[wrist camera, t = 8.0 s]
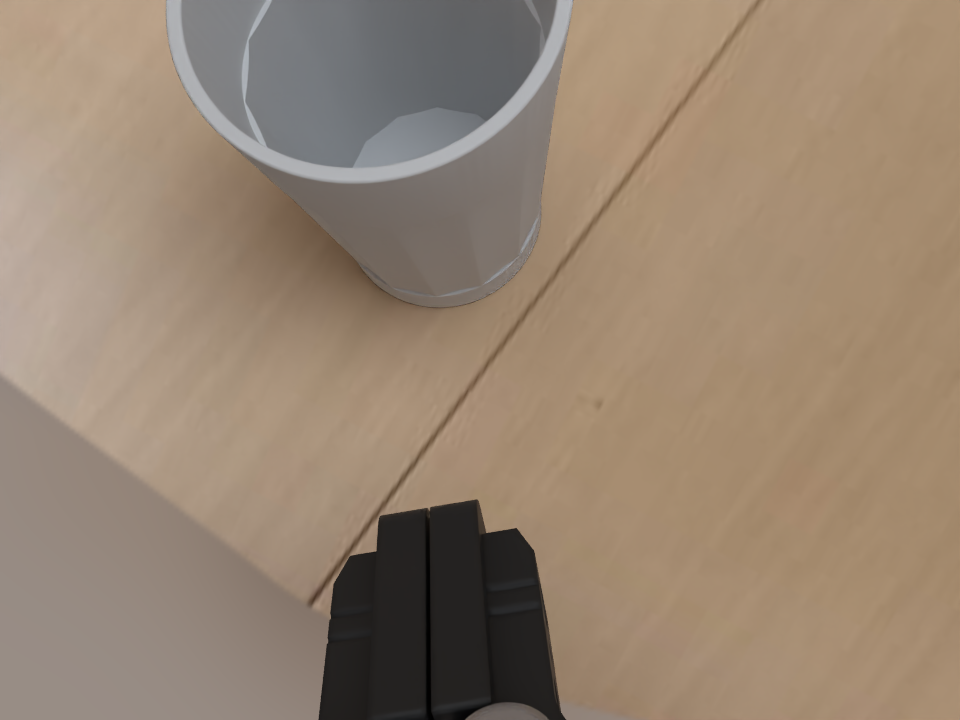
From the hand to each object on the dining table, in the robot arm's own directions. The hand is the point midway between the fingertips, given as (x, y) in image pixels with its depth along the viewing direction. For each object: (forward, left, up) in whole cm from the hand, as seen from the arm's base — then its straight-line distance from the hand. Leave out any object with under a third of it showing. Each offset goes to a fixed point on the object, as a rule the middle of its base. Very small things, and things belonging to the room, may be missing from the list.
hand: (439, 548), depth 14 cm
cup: (0, +11, -14) cm, 17 cm away
